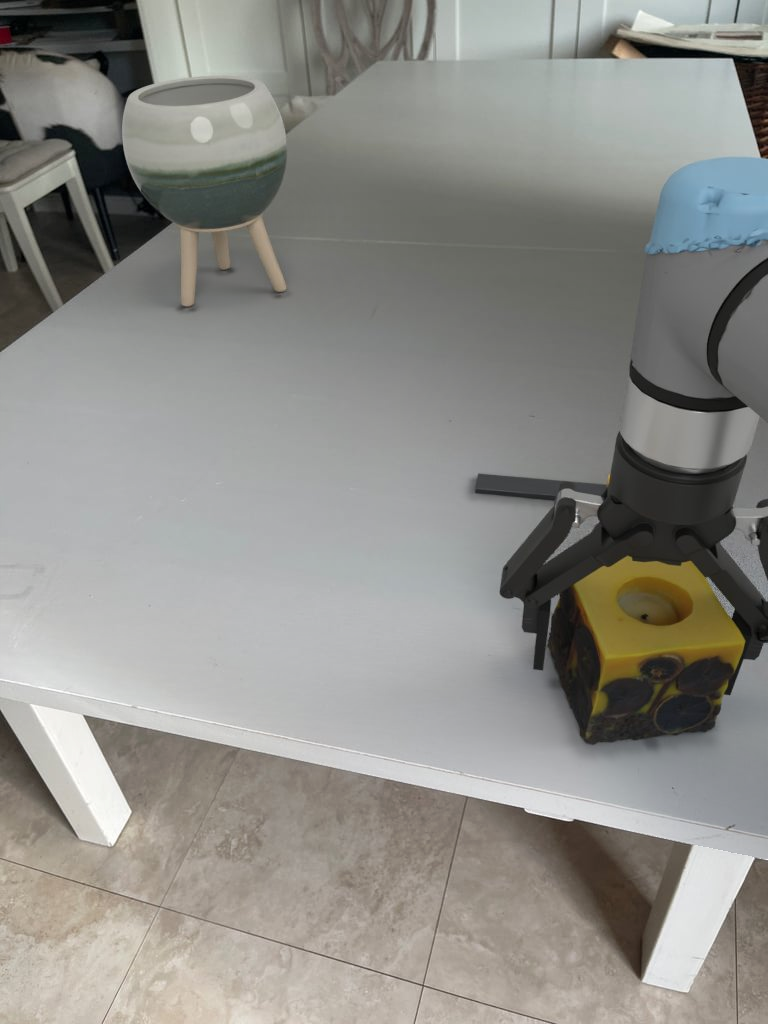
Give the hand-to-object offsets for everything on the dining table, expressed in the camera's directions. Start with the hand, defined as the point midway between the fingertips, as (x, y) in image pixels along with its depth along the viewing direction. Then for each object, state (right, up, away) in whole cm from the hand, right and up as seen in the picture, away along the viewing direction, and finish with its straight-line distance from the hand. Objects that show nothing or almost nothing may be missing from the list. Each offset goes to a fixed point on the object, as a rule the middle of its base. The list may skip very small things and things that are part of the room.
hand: (628, 668), depth 62 cm
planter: (-42, +47, +63) cm, 89 cm away
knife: (+2, +14, +20) cm, 24 cm away
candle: (0, -2, +1) cm, 2 cm away
